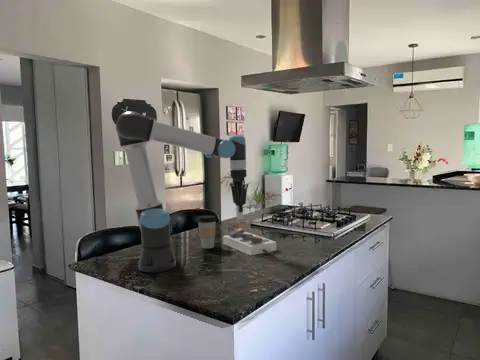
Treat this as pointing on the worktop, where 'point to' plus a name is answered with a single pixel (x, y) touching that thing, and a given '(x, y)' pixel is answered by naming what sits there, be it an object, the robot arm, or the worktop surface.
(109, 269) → the worktop surface
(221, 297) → the worktop surface
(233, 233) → the rocker
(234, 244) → the power strip
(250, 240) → the rocker
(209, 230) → the coffee cup
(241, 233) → the rocker
